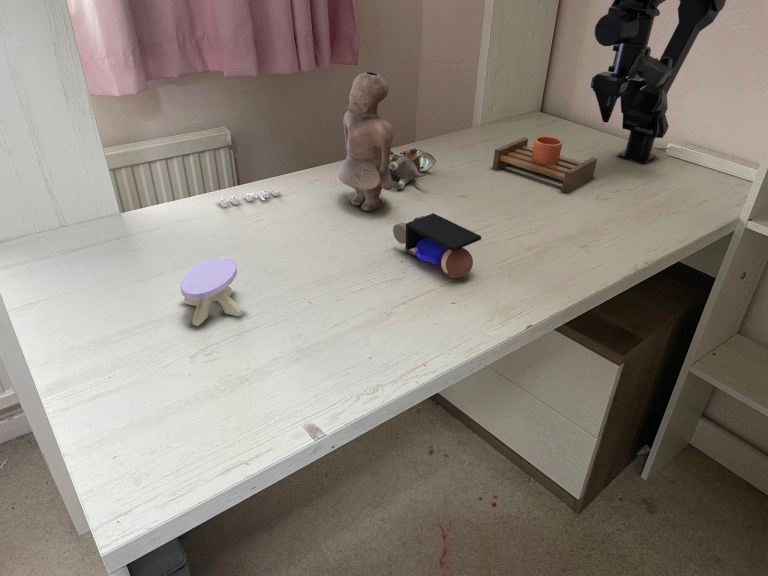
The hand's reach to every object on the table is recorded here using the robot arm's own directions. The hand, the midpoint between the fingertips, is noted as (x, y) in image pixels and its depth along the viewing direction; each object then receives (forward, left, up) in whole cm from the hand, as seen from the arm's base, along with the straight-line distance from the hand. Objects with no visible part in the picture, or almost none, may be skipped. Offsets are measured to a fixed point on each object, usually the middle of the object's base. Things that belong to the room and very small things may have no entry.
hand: (614, 117), depth 132 cm
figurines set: (+67, -41, -12) cm, 80 cm away
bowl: (+12, -8, -9) cm, 17 cm away
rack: (+12, -8, -12) cm, 19 cm away
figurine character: (+60, -1, -12) cm, 61 cm away
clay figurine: (+52, -24, -12) cm, 58 cm away
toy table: (+93, -15, -12) cm, 95 cm away
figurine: (+35, -29, -12) cm, 47 cm away
